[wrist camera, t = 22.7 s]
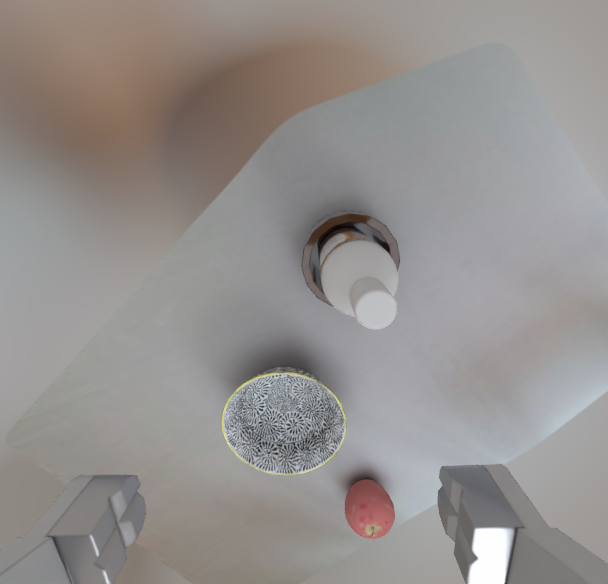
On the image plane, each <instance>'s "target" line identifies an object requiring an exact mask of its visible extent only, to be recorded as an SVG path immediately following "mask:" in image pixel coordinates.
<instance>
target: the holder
mask: <svg viewBox="0 0 608 584" xmlns="http://www.w3.org/2000/svg"><path fill="white" fill-rule="evenodd" d="M341 228H353V229H357V230H359V231H361V232H363V233H364V234H366V235H367V236H368V237H369V238H371V239H372V240H373V241H375V242H376V243H377V244H379V245H380V246H381V247H383V248H384V249H385V250H386V251H387V252H388V253H389V254H390V256H391V257H392V259H393V261H394V263H395V265H396V268H397V272H398V267H399V263H400V257H399V251H398V246H397V242H396V240H395V238H394V237H393V236H392V234H391V233H390V231H389V230H388V228H387V227H386V226H385V225H384V224H382V223H380V222H379V221H377V220H375V219H374V218H372V217H371V216H368V215H366V214H363V213H359V212H353V211H340V212H335V213H332V214H330V215H327V216H326V217H324V218H323V219H321V220H320V221H319V222H318V223H316V224H315V225H314V226H313V228H312V229H311V231H310V232H309V234H308V236H307V238H306V240H305V244H304V251H303V258H302V270H303V274H304V277H305V281H306V284H307V285H308V287H309V288H310V289H311V291H312V292H313V293H314V294H315V296H316V297H317V298H318V299H320V300H322V301H324V302H325V303H327V304H329V305H331V306H333V305H332V304H331V303H330V302H329V300H328V299H327V297H326V296H325V294H324V292H323V289H322V285H321V276H320V267H319V250H320V247H321V244H322V242H323V241H324V239H325V238H326V237H327V236H328V235H329V234H330V233H332V232H333V231H335V230H338V229H341ZM333 307H334V306H333Z"/></svg>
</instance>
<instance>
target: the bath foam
mask: <svg viewBox="0 0 608 584" xmlns="http://www.w3.org/2000/svg"><path fill="white" fill-rule="evenodd" d="M319 267H320V276H321V285H322V289H323V292H324V294H325V296H326V297H327V299H328V300H329V302H330V303H331V304H332V305H333V306H334V307H335V308H336V309H337V310H339V311H340V312H342V313H344V314H346V315H349V316H353V317H356V319H357V321H358V322H359V323H360V324H361V325H362V326H364V327H365V328H368V329H372V330H378V329H382V328H385V327H387V326H388V325H390V324H391V323H392V322H393V320H394V319H395V317H396V315H397V310H398V306H397V302H396V300H395V298H394V296H395V294H396V291H397V287H398V272H397V268H396V265H395V263H394V261H393V259H392V257H391V256H390V254H389V253H388V252H387V251H386V250H385V249H384V248H383V247H381V246H380V245H379V244H377V243H376V242H375V241H373V240H372V239H371V238H369V237H368V236H367V235H366V234H364V233H363V232H361V231H359V230H357V229H353V228H341V229H338V230H335V231H333V232H332V233H330V234H329V235H328V236H327V237H326V238H325V239H324V241H323V242H322V244H321V247H320V250H319Z"/></svg>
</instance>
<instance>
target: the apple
mask: <svg viewBox="0 0 608 584" xmlns="http://www.w3.org/2000/svg"><path fill="white" fill-rule="evenodd" d="M345 516H346V519H347V521H348V523H349V525H350V527H351V528H352V529H353V530H354V531H355V532H356V533H357V534H359V535H360V536H362V537H365V538H369V539H375V538H379V537H382V536H383V535H385V534H386V533H387V532H388V531H389V530H390V529H391V527H392V525H393V522H394V519H395V513H394V506H393V503H392V500H391V498H390V496H389V495H388V493H387V492H386V491H385V490H384V488H383V487H382V486H381V485H380V484H378V483H377V482H375V481H373V480H369V479H364V480H360V481H358V482H356V483H354V484H353V485H352V487H351V488H350V489H349V491H348V494H347V496H346V500H345Z"/></svg>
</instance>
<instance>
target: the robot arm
mask: <svg viewBox="0 0 608 584" xmlns="http://www.w3.org/2000/svg"><path fill="white" fill-rule="evenodd" d="M439 478H440V481H441V483H442V485H443V486H442V487H441V488H440V490H439V491H438V508H439V514H440V518H441V521H442V524H443V527H444V529H445V532H446V534H447V535H448V536H449V537H450V538H451V539H452V540H453V541H454V542H455V549H454V555H455V557H456V560H457V563H458V565H459V568H460V570H461V573H462V575H463V578H464V580H465V583H466V584H608V563H606V562H604V561H603V560H602V559H600V558H599V557H597V556H596V555H594V554H593V553H592V552H590V551H589V550H587V549H586V548H585V547H583V546H582V545H580V544H579V543H577V542H576V541H575V540H573V539H572V538H570V537H569V536H567V535H566V534H565V533H563V532H562V531H560V530H559V529H557V528H549V526H548V525H547V524H546V522H545V521H544V519H543V518H542V517H541V515H540V514H539V512H538V511H537V510H536V508H535V507H534V505H533V504H532V503H531V501H530V500H529V498H528V497H527V496H526V494H525V493H524V491H523V490H522V489H521V487H520V486H519V485H518V483H517V482H516V480H515V479H514V478H513V476H512V475H511V473H510V472H509V471H508V469H507V468H506V467H505V466H504V465H502V464H496V465H463V466H442V467H441V469H440V475H439ZM139 487H140V483H139V480H138V477H137V476H135V475H80V476H78V477H76V478H75V479H73V480H72V481H71V482H70V484H69V485H68V486H67V487H66V488H65V490H64V491H63V492H62V493H61V494H60V495H59V497H58V498H57V499H56V500H55V501H54V503H53V504H52V505H51V506H50V507H49V508H48V510H47V511H46V512H45V513H44V514H43V516H42V517H41V518H40V519H39V521H38V522H37V523H36V524H35V525H34V526H33V527H32V529H31V530H30V531H29V532H28V533H27V535H26V536H25V537H19V538H17V539H15V540H14V541H12V542H11V543H9V544H8V545H6V546H5V547H3V548H2V549H0V584H114V582H115V580H116V578H117V576H118V575H119V573H120V571H121V568H122V567H123V565H124V563H125V561H126V559H127V557H126V548H127V547H128V546H130V545H131V544H132V543H133V542H134V541H135V540H136V539H137V537H138V535H139V533H140V531H141V529H142V527H143V523H144V519H145V515H146V504H145V500H144V498H143V497H142V496H141V495H140V494H139V493H138V492H137V490H138V488H139Z"/></svg>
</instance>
